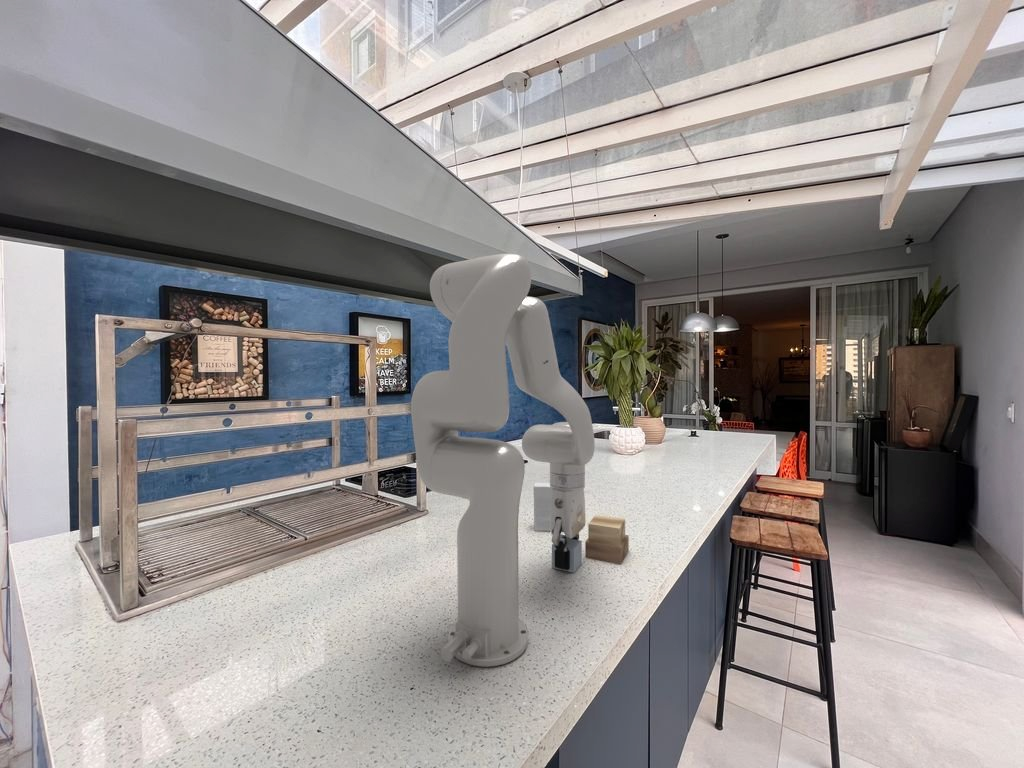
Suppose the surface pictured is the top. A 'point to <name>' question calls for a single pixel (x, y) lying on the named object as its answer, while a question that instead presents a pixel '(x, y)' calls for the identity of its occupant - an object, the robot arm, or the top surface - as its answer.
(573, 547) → the cube
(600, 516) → the tower top
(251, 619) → the top surface
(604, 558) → the tower base
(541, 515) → the skincare box
